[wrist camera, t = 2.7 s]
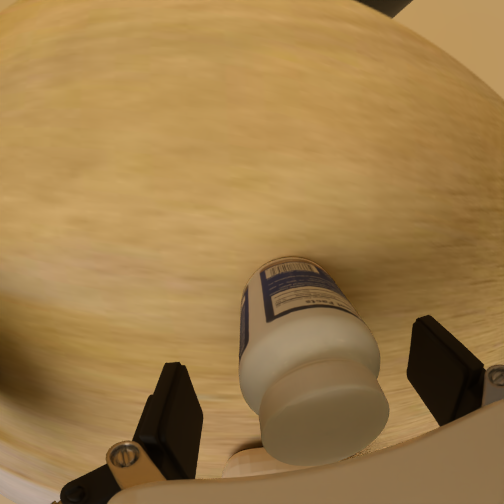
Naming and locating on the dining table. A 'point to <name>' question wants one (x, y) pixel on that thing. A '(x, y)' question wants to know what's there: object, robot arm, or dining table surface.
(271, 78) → the dining table surface
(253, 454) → the cat figurine
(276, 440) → the pill bottle
